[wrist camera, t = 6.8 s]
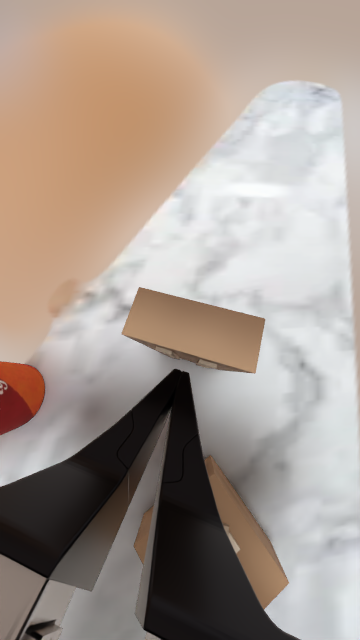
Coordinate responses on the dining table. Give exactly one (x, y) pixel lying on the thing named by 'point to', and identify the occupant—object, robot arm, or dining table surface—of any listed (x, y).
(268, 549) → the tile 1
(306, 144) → the dining table surface
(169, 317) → the wooden block
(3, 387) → the coffee cup
